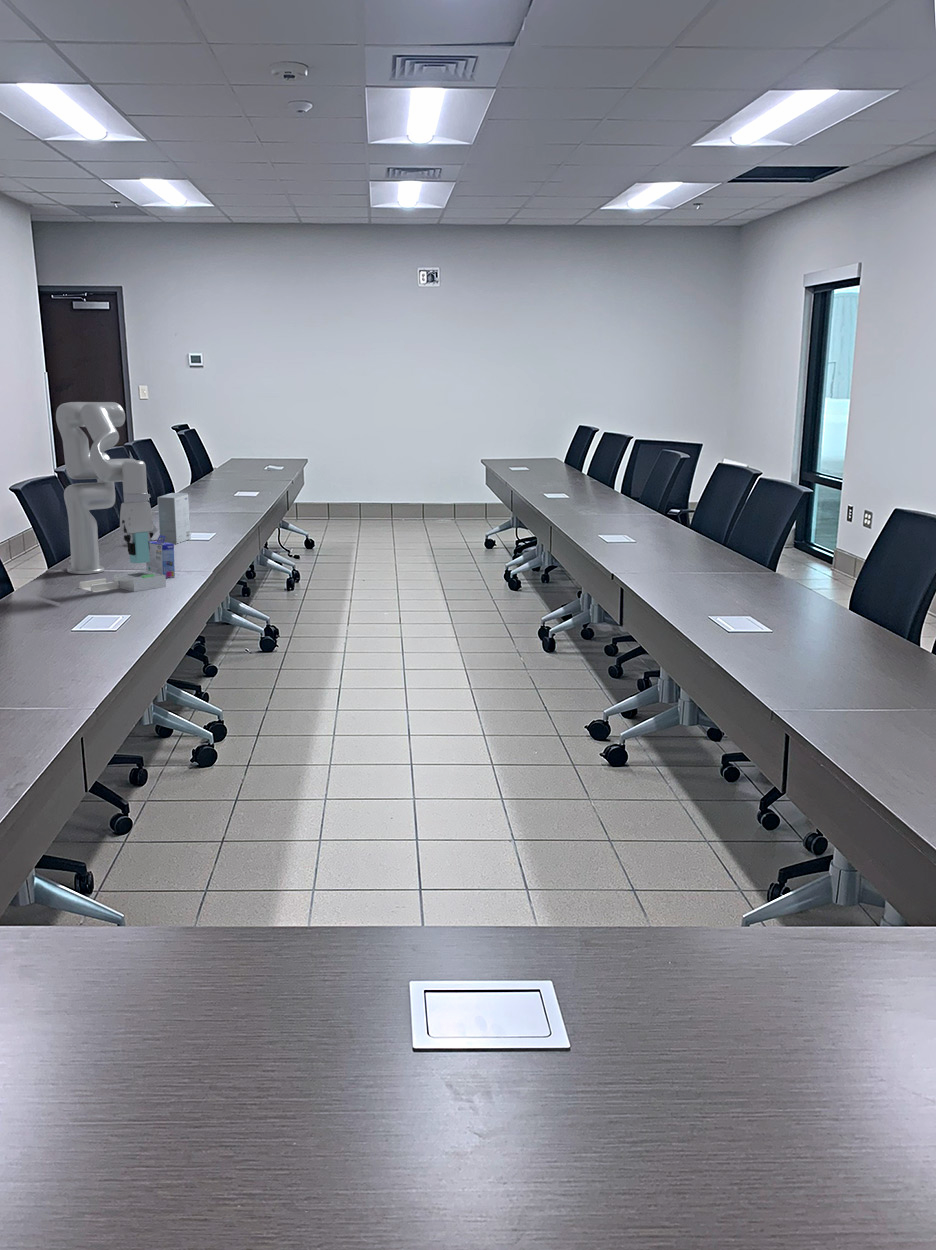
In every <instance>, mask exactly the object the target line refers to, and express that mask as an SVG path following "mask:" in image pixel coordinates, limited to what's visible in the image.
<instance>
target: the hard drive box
mask: <svg viewBox="0 0 936 1250" xmlns="http://www.w3.org/2000/svg"><path fill="white" fill-rule="evenodd" d="M157 511H158V513H157V514H158V515H157V516H158V529H159V535H162V536H166V538H165V540H164V542H167V543H173V544H174V545H178V544H181V543H183V542H186V541H189V540H190V539H191V534H192V533H191V521H190V505H189V494H188V493H187V492H183V493H181V492H171V493H167V494H164V495H161V496H157ZM160 539H161V540H163V539H164V538H162V537H161V538H160ZM180 542H181V543H180ZM177 543H178V544H177Z"/></svg>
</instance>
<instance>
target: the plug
mask: <svg viewBox="0 0 936 1250" xmlns="http://www.w3.org/2000/svg"><path fill="white" fill-rule="evenodd" d="M133 543H135V555H129V561H130V563H132V564H145V563H146V562H150V556H149V543H148V532H141V533H135V534H134V541H133Z"/></svg>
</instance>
